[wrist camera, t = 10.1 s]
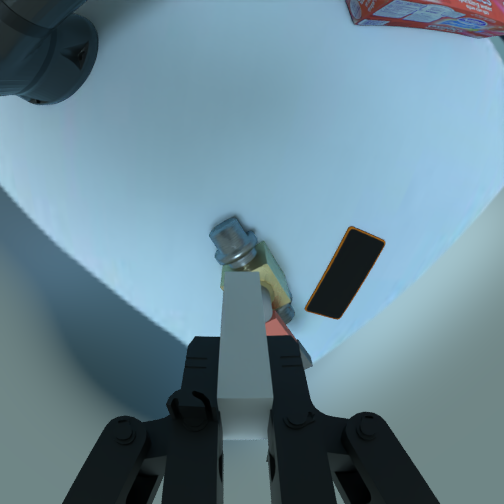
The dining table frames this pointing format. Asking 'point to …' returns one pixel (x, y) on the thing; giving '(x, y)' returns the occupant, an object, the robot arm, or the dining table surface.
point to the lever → (280, 326)
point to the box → (433, 15)
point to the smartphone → (345, 273)
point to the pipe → (252, 263)
